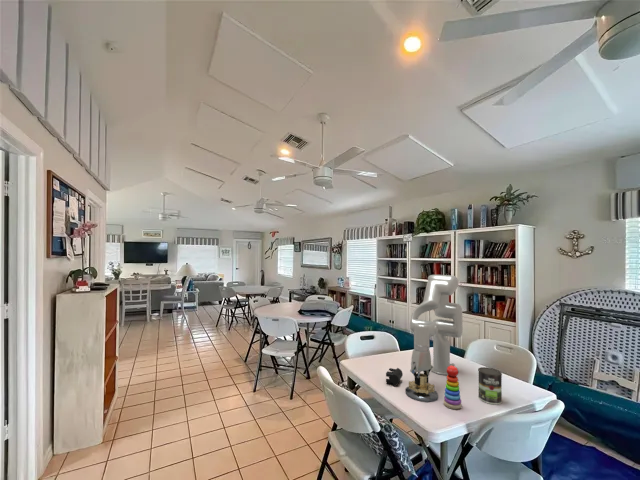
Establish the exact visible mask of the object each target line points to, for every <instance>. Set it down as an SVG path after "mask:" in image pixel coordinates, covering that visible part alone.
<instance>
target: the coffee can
mask: <svg viewBox="0 0 640 480" xmlns="http://www.w3.org/2000/svg"><path fill="white" fill-rule="evenodd" d="M477 370H478V371H477V372H478V396H477V397H478V399H479V400H480V401H482V402H483V403H485V404H489V405H493V406H494V405H497V406H498V405H501V404H502V403H503V401H502V398H503V397H502V396H503V395H502V393H503V392H502V389H503V388H502V385H503V383H502V382H503V381H502V380H503V379H502V377H503V376H502V375H503V373H502V372H501V371H500V370H498V369H496V368H492V367H484V366H482V367H478V369H477Z"/></svg>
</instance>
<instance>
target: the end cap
mask: <svg viewBox="0 0 640 480" xmlns="http://www.w3.org/2000/svg"><path fill="white" fill-rule="evenodd" d="M403 374H404V373H403V371H402V369H401V368H399V367H397V368H391V367H390V368H389V369H388V371H386V372H385V377H387V378H385V381H386V385H387V386H393V387H394V386H397V385H398V384H399V383H400V381H401V379H402V377H403Z"/></svg>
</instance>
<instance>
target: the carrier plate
mask: <svg viewBox="0 0 640 480" xmlns="http://www.w3.org/2000/svg"><path fill="white" fill-rule="evenodd" d="M404 390H405V392H404V393H405V395H406V397H408V398H410V399H412V400H414V401H418V402H421V403H433V402H436V401H438V399H439V393H438V392H437V391H436V390H435V392H430V393H428V394H426V393H420V392H418V393H417V392H415V391H414V390H412V389H409V385H408V386H407V387H405V389H404Z"/></svg>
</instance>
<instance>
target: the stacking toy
mask: <svg viewBox="0 0 640 480" xmlns="http://www.w3.org/2000/svg"><path fill="white" fill-rule="evenodd" d="M458 369H459V368H457V367H456V365H455V366H448V367H447V374H448V375H446V381H445V382H446V384H445V388H444V392H443V393H444V399H443V404H444V406H445V407H447V408H449V409H451V410H460V409H461V408H462V405H463V404H462V399H461V392H460V383H459V378H458V374H459V370H458Z"/></svg>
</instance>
